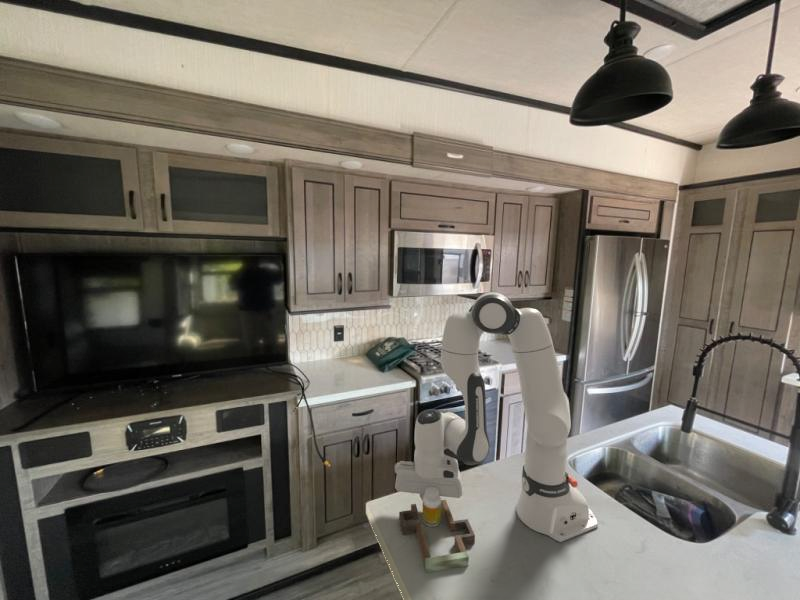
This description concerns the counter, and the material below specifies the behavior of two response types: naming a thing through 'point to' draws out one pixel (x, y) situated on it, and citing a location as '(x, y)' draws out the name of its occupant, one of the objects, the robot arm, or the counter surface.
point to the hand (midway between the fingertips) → (428, 504)
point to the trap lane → (460, 540)
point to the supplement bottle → (431, 506)
